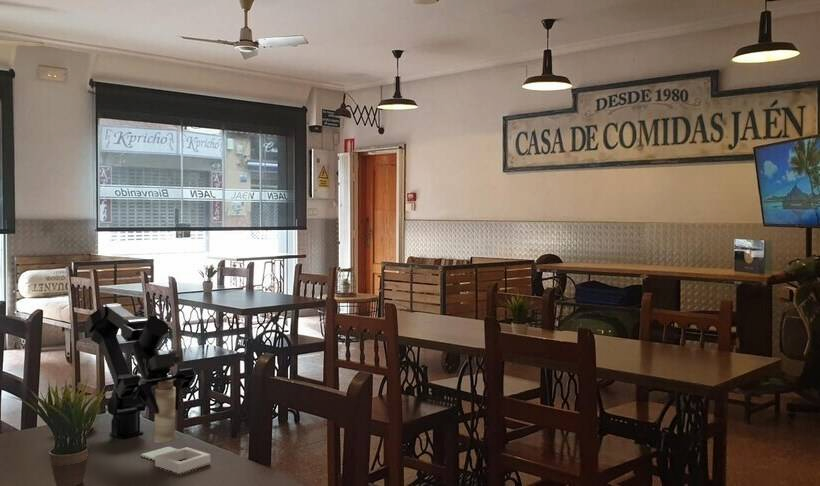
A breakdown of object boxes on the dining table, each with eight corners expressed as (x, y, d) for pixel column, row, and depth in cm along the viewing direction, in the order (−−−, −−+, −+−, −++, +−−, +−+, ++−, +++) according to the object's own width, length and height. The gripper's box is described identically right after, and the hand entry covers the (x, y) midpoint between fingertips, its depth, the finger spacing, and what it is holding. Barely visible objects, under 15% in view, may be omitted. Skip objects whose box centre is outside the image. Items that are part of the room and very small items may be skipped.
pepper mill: (167, 436, 184) (167, 378, 184) (178, 439, 182) (179, 381, 181) (150, 440, 181) (151, 382, 180) (162, 444, 178) (162, 385, 177)
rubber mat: (168, 448, 187) (168, 446, 187) (188, 455, 182) (188, 452, 182) (141, 456, 180) (141, 454, 180) (160, 463, 176) (160, 460, 176)
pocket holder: (186, 456, 181) (186, 447, 180) (210, 464, 175) (210, 454, 175) (155, 466, 173) (155, 456, 173) (178, 474, 168) (178, 464, 168)
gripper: (121, 344, 177) (140, 398, 169) (193, 337, 189) (213, 387, 182) (108, 371, 182) (126, 424, 175) (178, 362, 195) (198, 411, 188)
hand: (167, 411), depth 180 cm, fingers closed on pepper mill, 5 cm apart
